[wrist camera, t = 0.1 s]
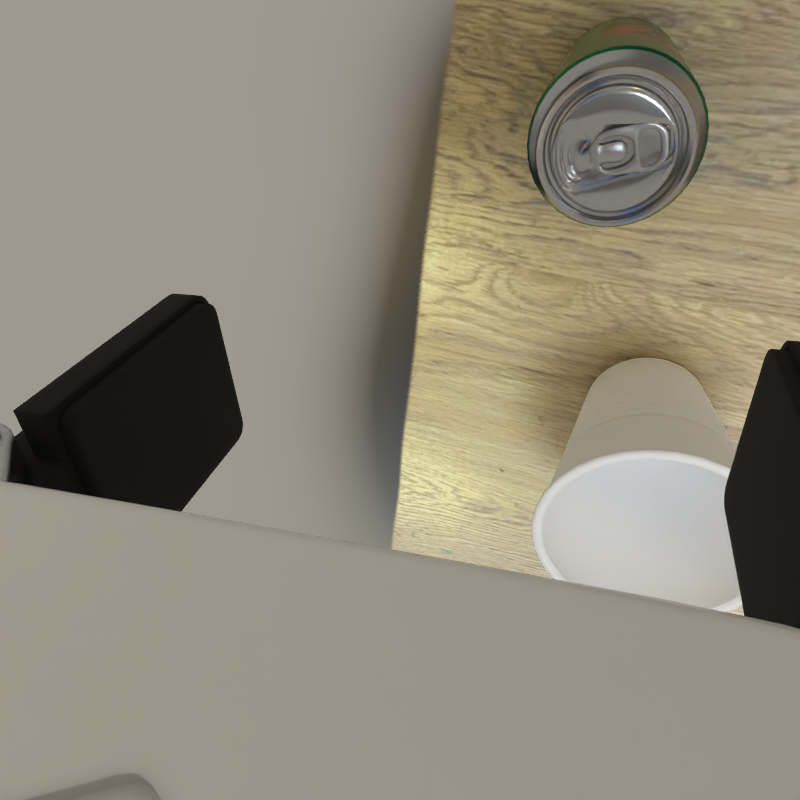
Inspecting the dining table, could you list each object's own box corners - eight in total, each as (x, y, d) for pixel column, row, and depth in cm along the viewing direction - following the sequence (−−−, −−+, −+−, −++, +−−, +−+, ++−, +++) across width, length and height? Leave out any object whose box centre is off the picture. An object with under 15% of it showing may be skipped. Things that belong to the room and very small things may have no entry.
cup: (517, 405, 38) (486, 538, 29) (641, 285, 32) (647, 407, 23) (646, 497, 39) (653, 652, 30) (788, 397, 33) (848, 555, 24)
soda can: (550, 33, 27) (511, 73, 17) (680, 1, 25) (715, 28, 16) (562, 155, 29) (533, 248, 20) (680, 135, 28) (711, 227, 18)
